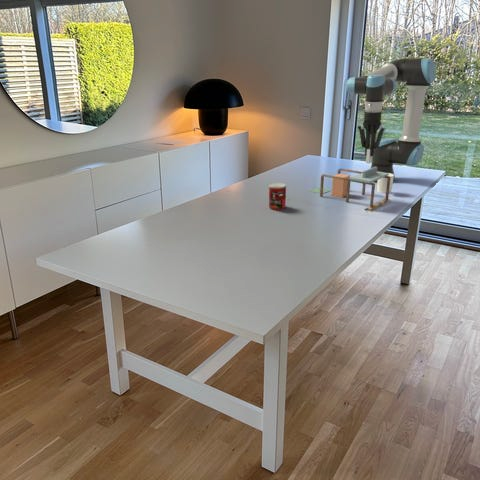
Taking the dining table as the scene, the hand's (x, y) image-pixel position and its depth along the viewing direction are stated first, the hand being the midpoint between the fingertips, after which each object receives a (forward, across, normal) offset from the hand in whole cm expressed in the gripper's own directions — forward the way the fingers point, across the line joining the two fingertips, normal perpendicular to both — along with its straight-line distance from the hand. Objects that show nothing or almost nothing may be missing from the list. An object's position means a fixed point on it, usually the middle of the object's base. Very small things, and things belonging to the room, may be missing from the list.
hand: (368, 162), depth 220 cm
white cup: (+20, 0, +20) cm, 29 cm away
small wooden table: (+20, -11, -1) cm, 22 cm away
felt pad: (+18, -26, -1) cm, 31 cm away
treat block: (+18, -14, -1) cm, 23 cm away
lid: (+7, +1, -1) cm, 7 cm away
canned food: (+19, -28, -34) cm, 48 cm away
